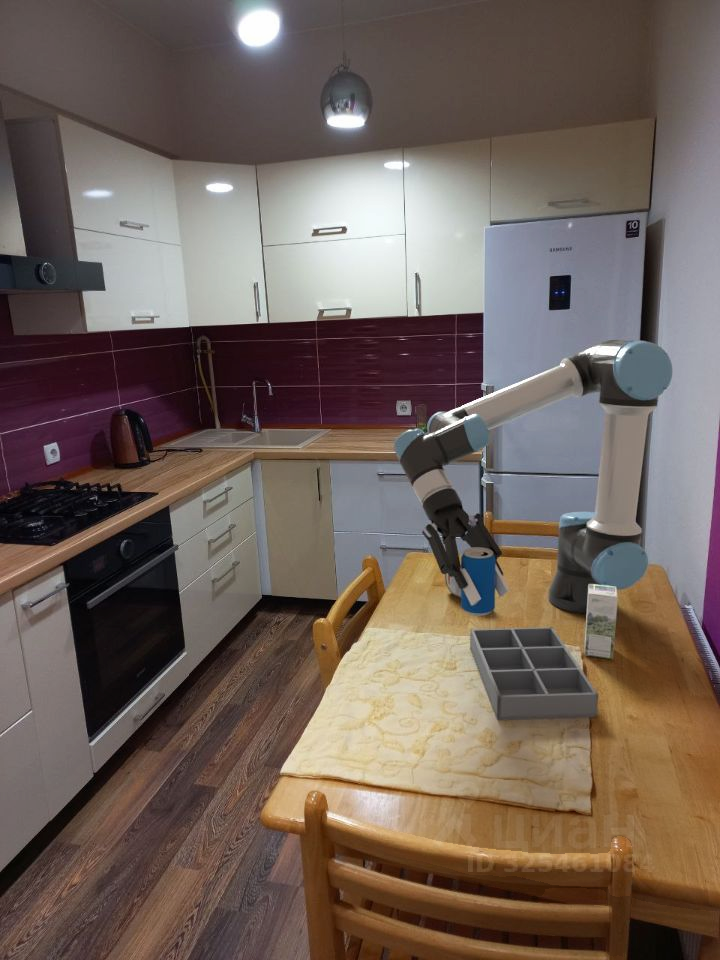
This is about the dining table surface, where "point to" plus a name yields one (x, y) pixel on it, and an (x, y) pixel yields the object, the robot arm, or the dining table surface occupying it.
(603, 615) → the syrup box
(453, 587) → the tin
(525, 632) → the can crate
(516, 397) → the robot arm
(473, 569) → the beverage can
